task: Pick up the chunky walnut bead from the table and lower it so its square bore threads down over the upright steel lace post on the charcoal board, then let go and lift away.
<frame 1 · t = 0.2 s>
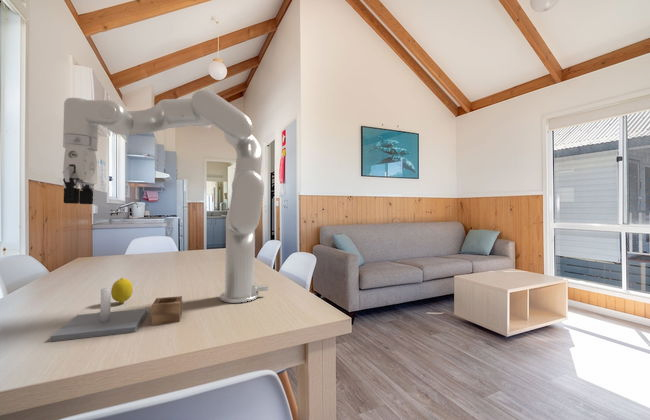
hand: (79, 203, 83), 31 cm above the table, tool pointing down, fingers open, 9 cm apart
bead: (167, 318, 79), on the table
lemon: (121, 304, 91), on the table
lace board: (105, 325, 74), on the table
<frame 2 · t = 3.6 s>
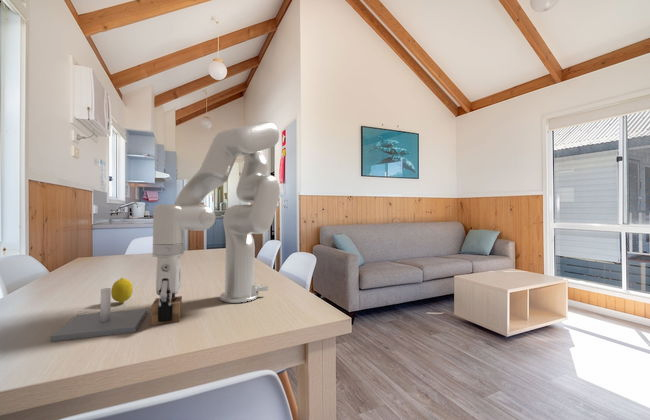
hand: (167, 315, 79), 1 cm above the table, tool pointing down, fingers closed on bead, 6 cm apart
bead: (167, 319, 79), on the table, touching gripper
everything else where it was.
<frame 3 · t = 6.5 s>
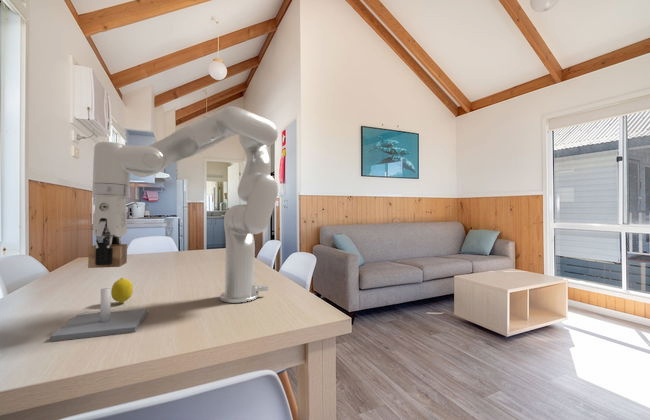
hand: (108, 261, 74), 16 cm above the table, tool pointing down, fingers closed on bead, 6 cm apart
bead: (108, 265, 74), point 15 cm above the table, touching gripper
everything else where it was.
when the fingers open (5 cm above the table, at t = 9.6 s): bead drops 3 cm, resting on lace board.
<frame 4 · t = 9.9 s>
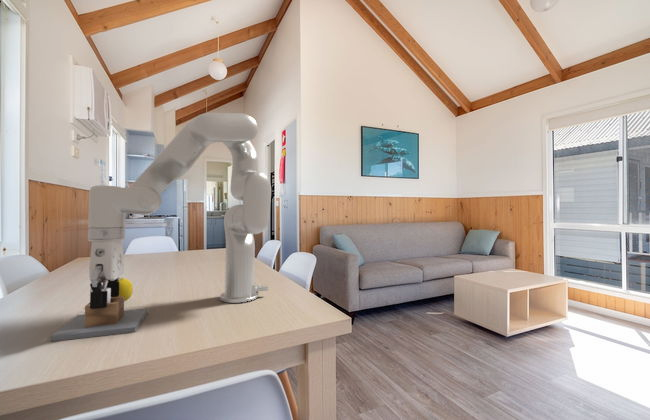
hand: (105, 302, 74), 6 cm above the table, tool pointing down, fingers open, 9 cm apart
bead: (105, 320, 74), point 1 cm above the table, touching lace board
everything else where it was.
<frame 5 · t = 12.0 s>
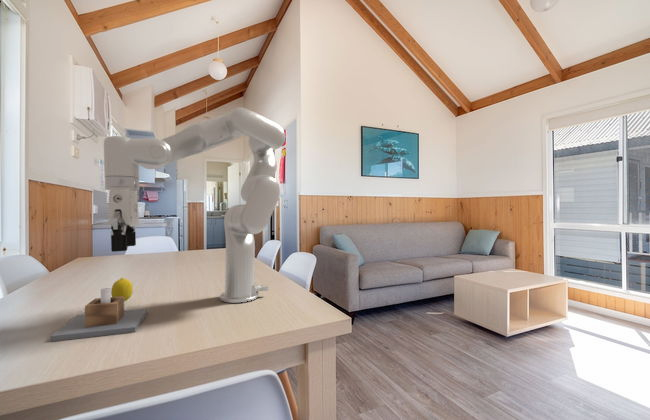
hand: (124, 248, 78), 19 cm above the table, tool pointing down, fingers open, 9 cm apart
nothing on the table moved.
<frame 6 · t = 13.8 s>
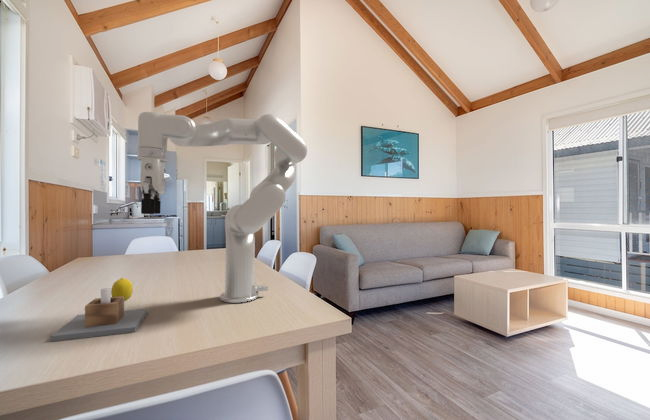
hand: (151, 213, 86), 28 cm above the table, tool pointing down, fingers open, 9 cm apart
nothing on the table moved.
at the end: bead 0.1 cm off-centre on the lace board, point 1.2 cm above the lace board's base; bead tilted 0°; the gripper is holding nothing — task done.
